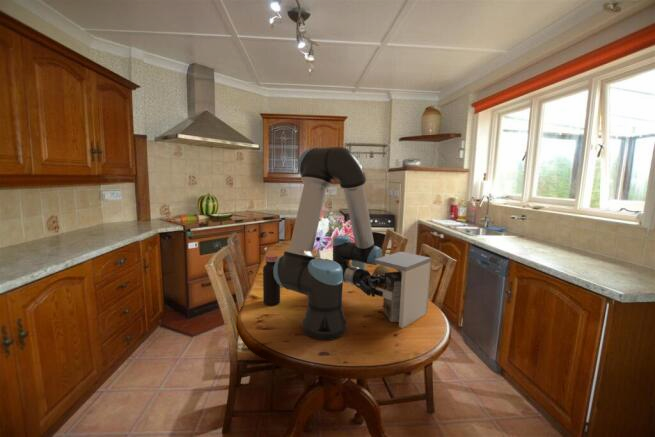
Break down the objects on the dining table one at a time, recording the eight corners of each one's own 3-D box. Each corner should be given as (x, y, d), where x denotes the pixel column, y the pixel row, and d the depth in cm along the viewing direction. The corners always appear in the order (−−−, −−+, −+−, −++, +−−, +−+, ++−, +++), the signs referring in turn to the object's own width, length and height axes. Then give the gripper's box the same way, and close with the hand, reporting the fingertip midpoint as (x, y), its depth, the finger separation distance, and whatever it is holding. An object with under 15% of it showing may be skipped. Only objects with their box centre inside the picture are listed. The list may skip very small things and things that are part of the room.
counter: (402, 328, 106) (406, 267, 102) (372, 315, 115) (374, 259, 111) (427, 312, 118) (431, 257, 115) (398, 302, 127) (401, 251, 124)
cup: (364, 276, 159) (365, 258, 158) (350, 275, 161) (350, 256, 160) (366, 271, 167) (366, 254, 166) (352, 270, 168) (352, 253, 167)
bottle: (260, 304, 123) (259, 256, 120) (269, 298, 129) (268, 252, 126) (274, 307, 120) (274, 258, 118) (283, 300, 127) (283, 254, 124)
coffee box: (382, 311, 118) (384, 271, 116) (397, 310, 120) (399, 271, 117) (391, 322, 109) (393, 280, 107) (407, 321, 111) (410, 279, 108)
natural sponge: (395, 287, 144) (396, 267, 143) (378, 289, 142) (378, 268, 140) (385, 281, 153) (386, 262, 151) (369, 282, 150) (370, 263, 149)
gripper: (375, 278, 136) (418, 292, 121) (336, 293, 118) (381, 311, 103) (376, 262, 134) (419, 274, 119) (337, 274, 117) (382, 290, 102)
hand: (402, 291), depth 111 cm, fingers open, 13 cm apart
